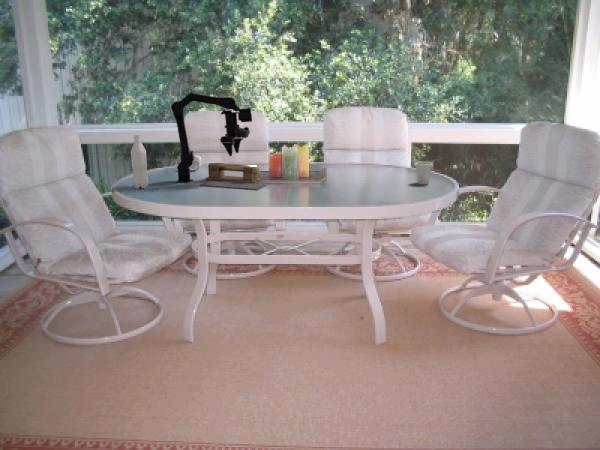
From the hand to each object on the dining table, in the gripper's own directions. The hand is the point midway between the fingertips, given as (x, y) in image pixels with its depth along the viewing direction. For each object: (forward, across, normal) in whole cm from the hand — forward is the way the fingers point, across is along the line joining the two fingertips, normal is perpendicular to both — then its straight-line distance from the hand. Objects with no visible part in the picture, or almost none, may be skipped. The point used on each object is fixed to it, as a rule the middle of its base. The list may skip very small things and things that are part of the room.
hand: (234, 154), depth 299 cm
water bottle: (+11, -28, +38) cm, 48 cm away
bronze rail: (+6, -2, 0) cm, 7 cm away
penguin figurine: (+12, +20, +34) cm, 41 cm away
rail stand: (+13, -2, +1) cm, 13 cm away
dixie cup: (+18, +15, -92) cm, 95 cm away
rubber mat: (+13, -13, -3) cm, 19 cm away
